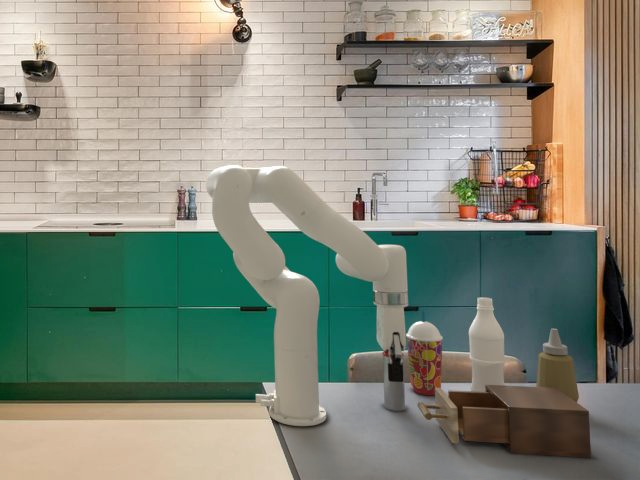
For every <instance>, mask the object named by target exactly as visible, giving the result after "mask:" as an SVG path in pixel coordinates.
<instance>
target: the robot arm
mask: <svg viewBox="0 0 640 480" xmlns="http://www.w3.org/2000/svg"><path fill="white" fill-rule="evenodd" d="M205 190H206V192H207V195H208V196H209V197H210V198H211V199H212V200H211V215H212V220H213V225H214V226H215V229H216V230H217V232H218V233H219V235H220V236H221V238H222V239H223V241H225V244H227V246H228V247H229V248H230V250H231V251H232V252H233V253H232V257H233V262H234V265H235V266H236V268H237V270H238V271H239V272H240V273H241V275H242V276H243V277H244V279H246V280H247V282H249V284H250V286H251V287H252V288H253V289H254V290H255V291H256V292H257V294H258V295H259V296H260V297H261V298H262V299H263V300H264V301H265V303H266V304H268V305H269V306H271V308H274V309H276V314H275V320H274V327H273V347H274V348H273V349H274V350H273V351H274V353H273V354H274V387H275V389H274V390H273V392H272V393H271V392H270V393H269V394H263V393H255V403H256V404H260V407H269V408H268V413H269V414H268V415H269V417H270V418H271V419H273V420H274V421H275V422H278V423H280V424H283V425H288V426H292V427H293V426H294V427H311V426H317V425H320V424H322V423H324V422H325V421H327V410H326V409H325V408H324V407H323V406H321V405H320V396H319V395H320V392H319V356H318V353H319V352H318V319H319V313H320V312H319V311H320V300H321V299H320V294H319V293H320V292H319V290H318V288H317V286H316V285H315V284H314V282H313V281H312V280H311V279H309V278H308V277H307V276H305V275H304V274H303V275H302V274H300V273H297V272H294V271H291V270H290V269H289V268H288V267H287V266H286V256H285V253H284V252H283V249H282V248H281V247H280V246H279V244H278V243H277V242H276V241H274V239H273V238H272V237H271V236H270V235H269V233H268V232H267V231H266V230H265V229H264V228H263V226H262V225H261V224H260V223H259V222H258V220H257V219H256V217H255V216H254V214H253V213H252V210H251V207H250V204H251V203H253V204H255V203H259V204H260V203H272V204H273V205H274V206H275V208H277V209H278V210H279V211H280V212H281V213H282V214H283V215H284V216H285V217H286V218H287V219H288V220H289V221H290V222H291V223H292V224H293V225H294V226H295V227H297V229H298V230H299V231H300V232H302V233H303V234H304V235H306V236H307V237H308V238H310V239H312V240H314V241H316V242H318V243H321V244H323V245H324V246H326V247H327V248H329V249H331V251H332V250H333V252H335V253H336V255H335V264H336V267H337V268H338V270H339V271H340V272H341V273H343V274H344V275H346V276H349V277H351V278H355V279H359V280H362V281H366V282H368V283H369V282H372V294H373V295H372V297H373V298H372V299H373V305H374V306H376V341H377V343H378V345H379V346H380V348H381V349H382V350H383V351H388V355H389V363H388V380H389V381H390V382H403V381H404V382H405V377H404V378H403V365H404V360H403V361H402V353H403V352H404V351H406V348H407V337H406V320H405V316H406V315H405V310H404V309H405V308H406V307H408V306H409V293H408V292H409V291H408V290H409V289H408V267H407V251H406V248H405V247H404V246H402V245H399V244H377V243H376V241H374V240H373V239H372V238H371V237H370V236H369V235H368V234H367V233H366V232H364V231H363V230H362V229H361V228H359V227H358V226H357V225H356V224H355V223H353V222H351V221H350V220H348V219H347V218H346V217H344V216H343V215H342V214H341V213H339V212H338V211H336V210H335V209H334V208H332V207H331V206H330V205H329V204H327V203H326V202H325V201H324V200H323V199H322V198H321V197H320V196H319V195H318V194H317V193H316V192H315V191H314V190H313V189H312V187H310V186H309V185H308V184H307V183H306V182H305V181H304V180H303V179H302V178H301V177H300V176H299V175H298V174H297V173H296V172H295V171H294V170H292V169H291V168H289V167H287V166H284V165H277V166H270V167H242V166H240V165H237V164H230V165H225V166H220V167H217V168H215V169H213V170H212V171H210V172H209V174H208V175H207V177H206V181H205ZM392 353H394V354H393V355H392Z"/></svg>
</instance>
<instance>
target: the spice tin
mask: <svg viewBox="0 0 640 480" xmlns="http://www.w3.org/2000/svg"><path fill="white" fill-rule="evenodd" d="M381 354H382V367H383V368H382V369H383V370H382V371H383V372H382V374H383V397H384V401H383V402H384V408H385V409H386V410H388V411H392V412H404V411H405V410H406V397H405V395H406V394H405V380H404V381H403V382H390V381H389V380H388V363H389V355H388V351H384V350H383V351H382V352H381ZM393 354H394V353H392V355H393ZM404 357H405V356H404V353H403V352H402V361H403V362H404ZM404 366H405V365H404V364H403V378H404V379H405V367H404Z"/></svg>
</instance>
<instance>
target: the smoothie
mask: <svg viewBox="0 0 640 480" xmlns="http://www.w3.org/2000/svg"><path fill="white" fill-rule="evenodd" d="M425 312H426V311H425V309H422V310H421V320H419V321H415V322H414V323H412V324H411V325H410V327H409V328H408V331H407V333H406V332H405V334H406V348H407V355H408V356H407V357H408V367H409V377H410V386H411V387H412V389H413V391H414V392H415V393H417V394H420V395H424V396H435V388H441V389H442V368H443V367H442V365H443V363H442V362H443V361H442V360H443V335H442V334H441V332H440V330H439V329H438V328H437V326H435V325H434V324H433V323H431V322H430V321H426V313H425Z"/></svg>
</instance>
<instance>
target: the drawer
mask: <svg viewBox="0 0 640 480" xmlns="http://www.w3.org/2000/svg"><path fill="white" fill-rule="evenodd" d="M447 393H448V395H447V394H446V393H445V392H444V390H443V388H442V387H441V388H435V395H434V400H435V401H434V404H425V403H424V402H421V401H420V402H418V403H417V407H418V409H419V411H420V412H421V414H422V415H423V417H424V418H425V420H427V421H431V420H432V419H435V420H436V422H437V423H438V424H439V426H440V428H441V429H442V431H443V432H444V433H445V435H446V436H447V438H448V439H449V440H450V442H451V444H460V439H459V438H460V437H459V435H460V436H461V437H462V439H463V440H464V441H465V442H479V443H495V444H503V443H509V427H508V409H507V408H506V407H505V406H504V405H502V404H501V403H500V402H499V401H498V400H497V399H496V398H495V397H494V396H493V395H492V394H491V393H490V392H475V391H471V390H451V389H448V390H447ZM429 409H431V410H435V413H431V412H430V410H429Z"/></svg>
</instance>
